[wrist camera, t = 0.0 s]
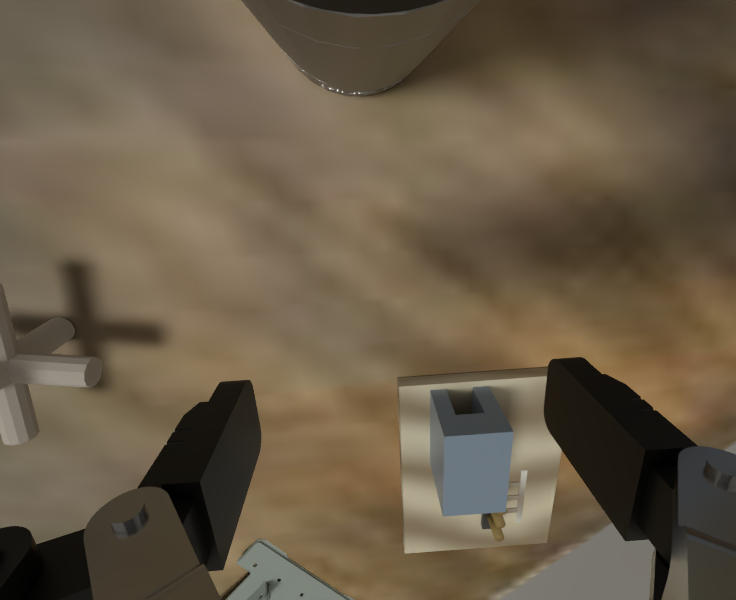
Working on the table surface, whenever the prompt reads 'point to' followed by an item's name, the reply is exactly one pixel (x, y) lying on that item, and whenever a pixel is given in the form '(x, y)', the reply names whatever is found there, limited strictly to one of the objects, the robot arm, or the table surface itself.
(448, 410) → the block
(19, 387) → the grey cross-shaped piece
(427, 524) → the board
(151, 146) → the table surface
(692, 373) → the table surface
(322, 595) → the metal bracket
